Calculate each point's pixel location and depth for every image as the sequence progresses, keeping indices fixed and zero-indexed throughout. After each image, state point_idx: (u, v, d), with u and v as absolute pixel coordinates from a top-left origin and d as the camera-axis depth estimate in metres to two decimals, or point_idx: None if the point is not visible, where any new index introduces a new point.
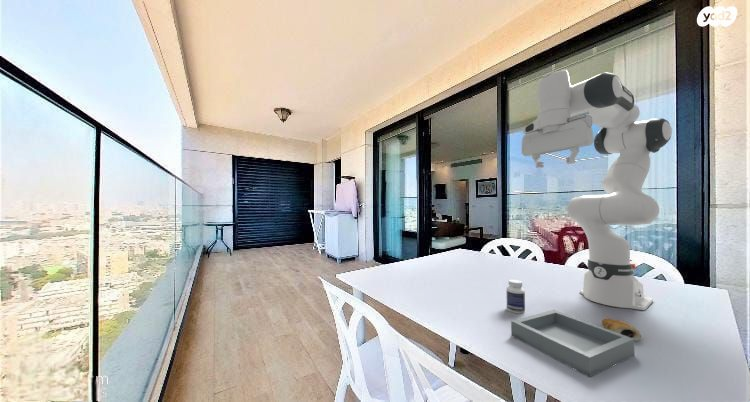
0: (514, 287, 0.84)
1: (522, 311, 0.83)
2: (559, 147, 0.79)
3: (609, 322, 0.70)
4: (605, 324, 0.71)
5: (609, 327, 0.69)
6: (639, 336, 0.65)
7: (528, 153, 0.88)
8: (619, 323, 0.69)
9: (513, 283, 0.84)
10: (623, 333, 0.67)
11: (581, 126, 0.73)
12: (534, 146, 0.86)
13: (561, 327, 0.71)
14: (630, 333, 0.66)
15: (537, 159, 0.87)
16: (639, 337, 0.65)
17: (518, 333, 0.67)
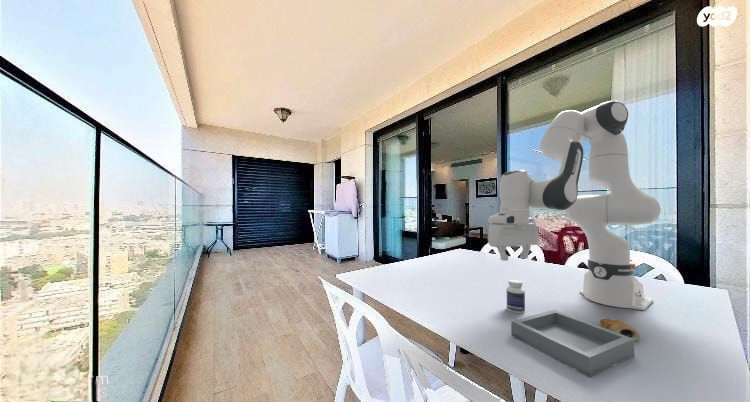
0: (514, 287, 0.84)
1: (522, 311, 0.83)
2: (524, 244, 0.85)
3: (608, 322, 0.70)
4: (604, 324, 0.71)
5: (608, 327, 0.69)
6: (638, 336, 0.66)
7: (503, 245, 0.81)
8: (618, 323, 0.69)
9: (513, 283, 0.84)
10: (622, 333, 0.66)
11: (536, 229, 0.87)
12: (507, 239, 0.82)
13: (561, 327, 0.71)
14: (629, 333, 0.66)
15: None
16: (638, 337, 0.65)
17: (518, 333, 0.67)
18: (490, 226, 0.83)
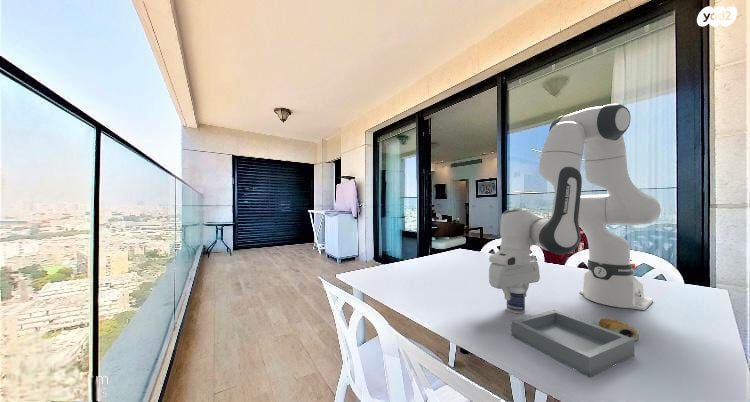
0: (514, 287, 0.84)
1: (522, 311, 0.83)
2: (525, 283, 0.85)
3: (607, 322, 0.70)
4: (603, 324, 0.71)
5: (607, 327, 0.69)
6: (637, 336, 0.65)
7: (504, 287, 0.81)
8: (617, 323, 0.68)
9: None
10: (622, 333, 0.66)
11: (537, 266, 0.87)
12: (508, 280, 0.81)
13: (561, 327, 0.71)
14: (628, 333, 0.66)
15: None
16: (637, 337, 0.65)
17: (518, 333, 0.67)
18: (491, 266, 0.83)
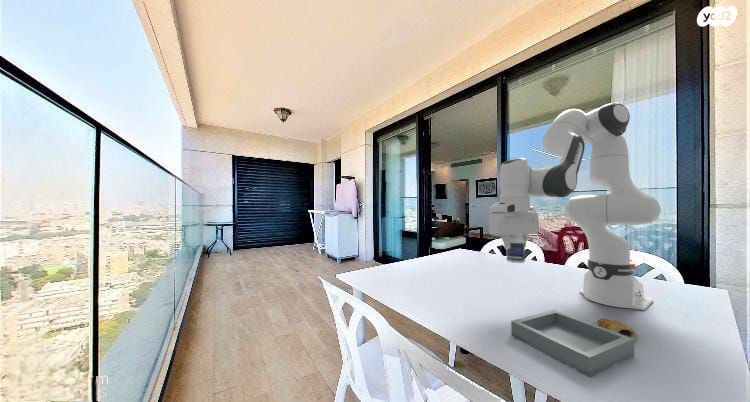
0: (514, 237, 0.84)
1: (522, 260, 0.83)
2: (525, 232, 0.85)
3: (606, 322, 0.70)
4: (602, 324, 0.70)
5: (606, 327, 0.69)
6: (636, 336, 0.66)
7: (503, 234, 0.81)
8: (616, 323, 0.68)
9: None
10: (621, 333, 0.66)
11: (537, 217, 0.87)
12: (508, 228, 0.82)
13: (561, 327, 0.71)
14: (627, 333, 0.66)
15: None
16: (636, 337, 0.65)
17: (518, 333, 0.67)
18: (491, 215, 0.83)
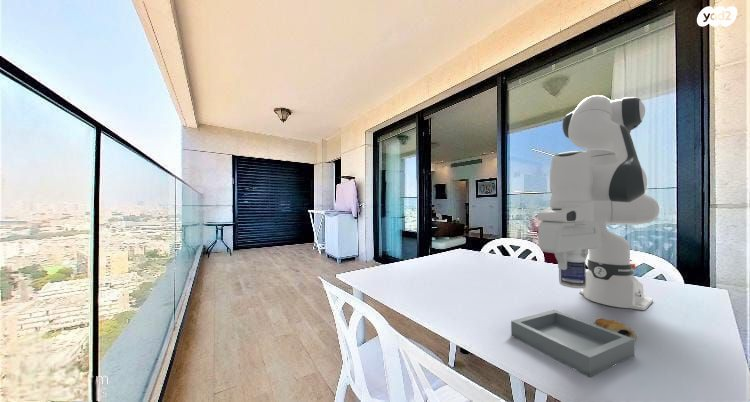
0: (572, 254, 0.64)
1: (583, 285, 0.62)
2: (585, 248, 0.64)
3: (604, 323, 0.70)
4: (600, 325, 0.70)
5: None
6: (634, 336, 0.66)
7: (560, 250, 0.60)
8: (614, 323, 0.68)
9: None
10: (620, 333, 0.66)
11: (598, 227, 0.67)
12: (566, 242, 0.61)
13: (561, 327, 0.71)
14: (626, 333, 0.66)
15: None
16: (634, 337, 0.65)
17: (518, 333, 0.67)
18: (541, 225, 0.63)
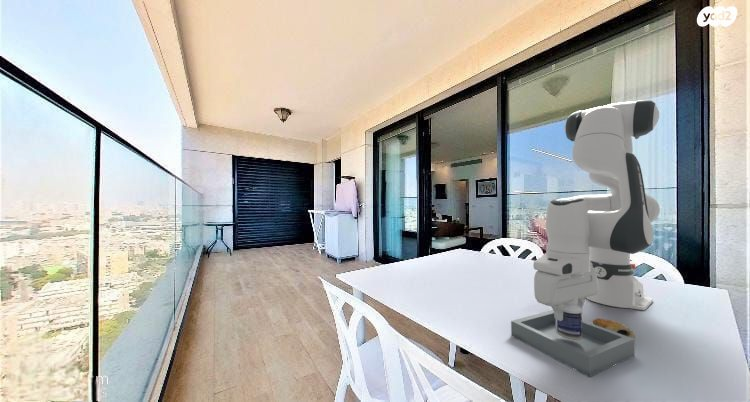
0: (568, 305, 0.63)
1: (579, 337, 0.61)
2: (582, 297, 0.64)
3: (603, 323, 0.70)
4: (599, 325, 0.70)
5: None
6: (633, 336, 0.65)
7: (556, 303, 0.60)
8: (613, 323, 0.68)
9: None
10: None
11: (595, 274, 0.66)
12: (562, 294, 0.60)
13: None
14: (625, 333, 0.66)
15: None
16: (633, 337, 0.65)
17: (518, 333, 0.67)
18: (537, 275, 0.62)
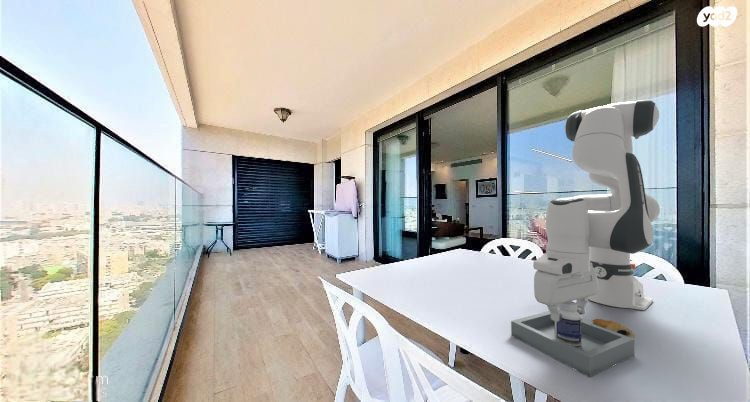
0: (568, 311, 0.63)
1: (579, 343, 0.61)
2: (581, 297, 0.64)
3: (602, 323, 0.70)
4: (598, 325, 0.70)
5: None
6: (632, 336, 0.65)
7: (556, 303, 0.60)
8: (612, 324, 0.68)
9: (565, 305, 0.63)
10: None
11: (595, 274, 0.66)
12: (562, 293, 0.60)
13: None
14: (624, 333, 0.66)
15: None
16: (632, 337, 0.65)
17: (518, 333, 0.67)
18: (537, 275, 0.62)
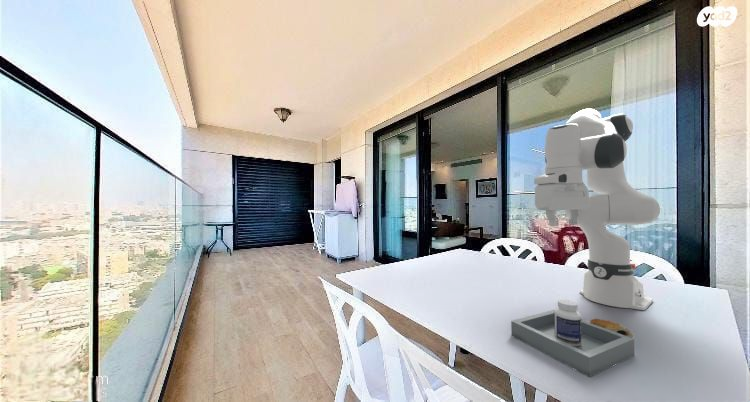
0: (568, 311, 0.63)
1: (579, 343, 0.61)
2: (575, 208, 0.75)
3: (601, 323, 0.69)
4: None
5: None
6: (631, 336, 0.65)
7: (553, 208, 0.71)
8: (611, 324, 0.68)
9: (565, 305, 0.63)
10: None
11: (587, 191, 0.77)
12: (558, 201, 0.71)
13: None
14: (623, 334, 0.66)
15: None
16: (631, 337, 0.65)
17: (518, 333, 0.67)
18: (537, 187, 0.73)
